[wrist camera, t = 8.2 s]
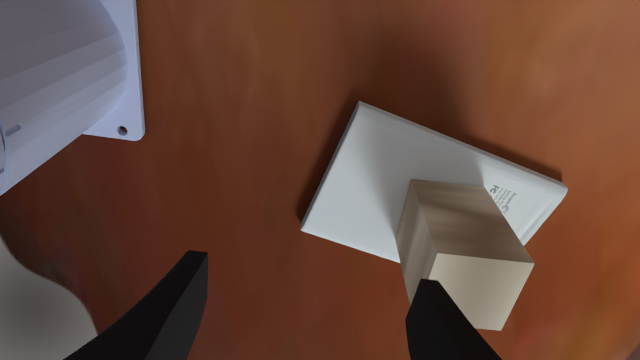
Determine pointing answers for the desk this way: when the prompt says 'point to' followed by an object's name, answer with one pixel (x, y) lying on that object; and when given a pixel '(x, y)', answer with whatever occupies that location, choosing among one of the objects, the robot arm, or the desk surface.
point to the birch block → (462, 249)
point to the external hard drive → (414, 163)
